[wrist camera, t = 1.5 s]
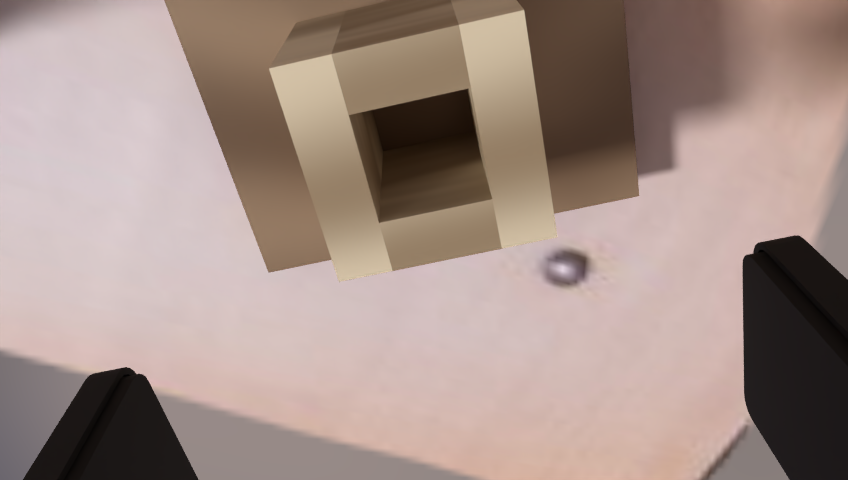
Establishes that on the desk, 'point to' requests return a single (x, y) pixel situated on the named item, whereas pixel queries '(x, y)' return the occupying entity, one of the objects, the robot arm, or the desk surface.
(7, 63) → the desk surface
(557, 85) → the brown rectangular board
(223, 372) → the desk surface
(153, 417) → the robot arm
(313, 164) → the wooden square holder
